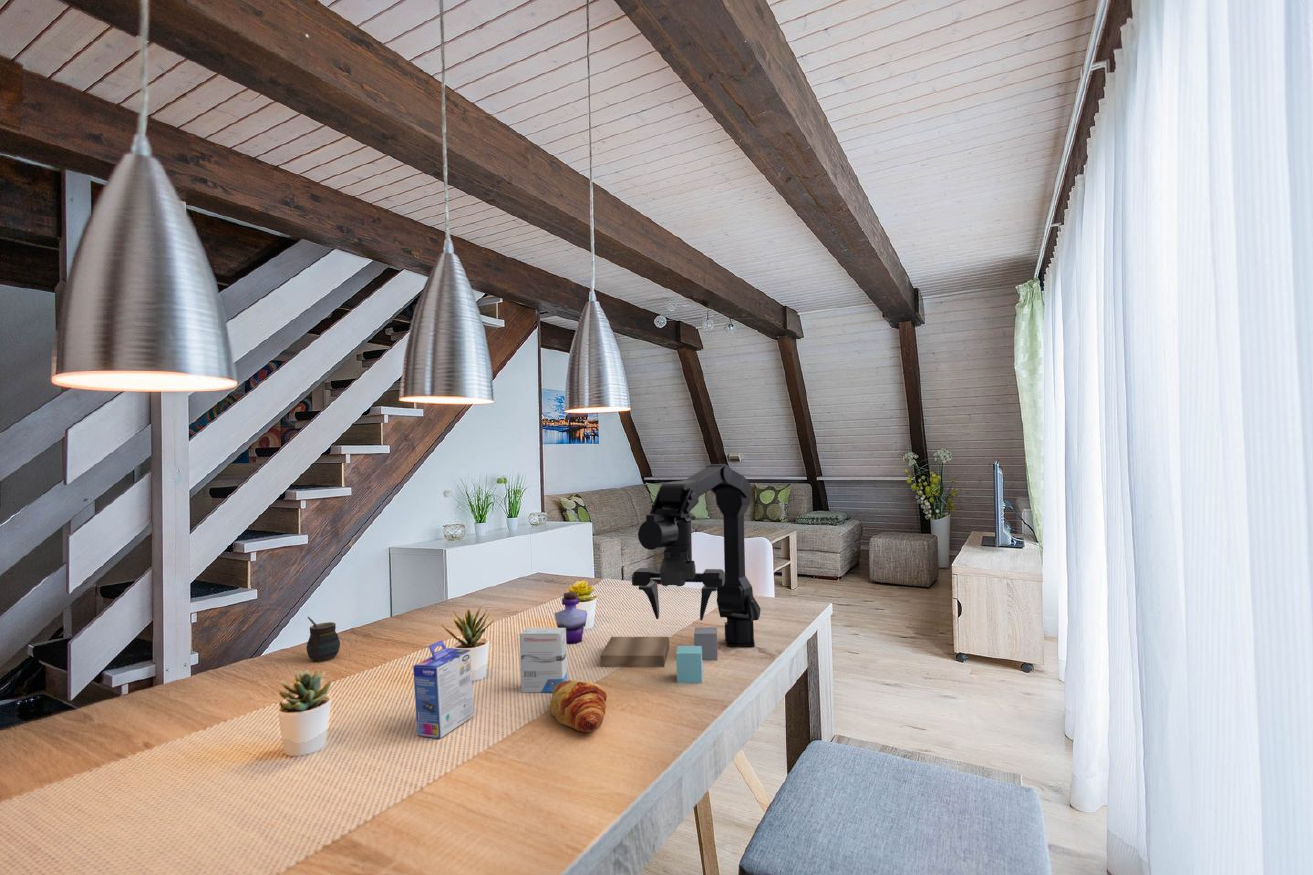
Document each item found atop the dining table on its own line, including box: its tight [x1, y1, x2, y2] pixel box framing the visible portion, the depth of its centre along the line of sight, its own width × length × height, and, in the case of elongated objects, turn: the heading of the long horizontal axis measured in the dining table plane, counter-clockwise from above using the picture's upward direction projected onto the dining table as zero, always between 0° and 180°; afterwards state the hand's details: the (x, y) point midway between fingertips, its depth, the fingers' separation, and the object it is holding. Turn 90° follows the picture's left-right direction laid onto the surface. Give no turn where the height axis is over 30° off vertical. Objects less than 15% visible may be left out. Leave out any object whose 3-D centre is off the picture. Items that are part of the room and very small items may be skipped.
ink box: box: [518, 627, 568, 694], centre depth 133 cm, size 8×5×12 cm, turn 84°
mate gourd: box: [306, 616, 341, 663], centre depth 157 cm, size 7×8×10 cm
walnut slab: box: [600, 636, 670, 668], centre depth 151 cm, size 14×14×3 cm
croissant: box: [549, 679, 607, 733], centre depth 119 cm, size 21×10×8 cm, turn 22°
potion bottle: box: [554, 591, 588, 645], centre depth 165 cm, size 9×9×12 cm
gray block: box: [693, 626, 719, 661], centre depth 150 cm, size 5×5×6 cm
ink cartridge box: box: [412, 640, 475, 739], centre depth 116 cm, size 10×6×14 cm, turn 161°
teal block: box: [675, 645, 704, 684], centre depth 136 cm, size 5×5×6 cm
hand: (679, 619), depth 136 cm, fingers open, 9 cm apart
